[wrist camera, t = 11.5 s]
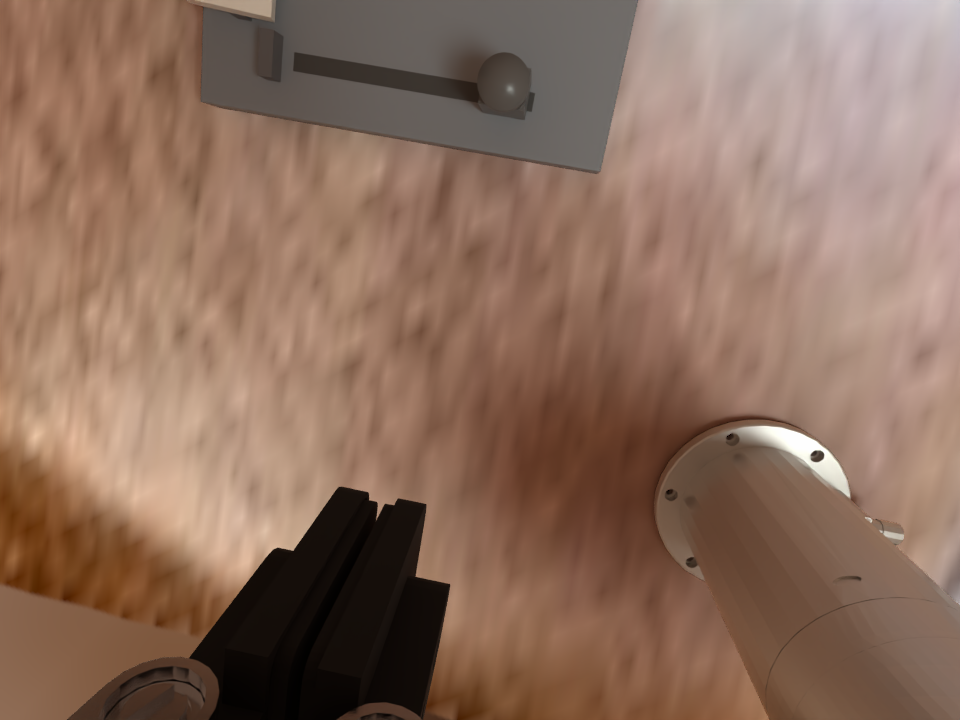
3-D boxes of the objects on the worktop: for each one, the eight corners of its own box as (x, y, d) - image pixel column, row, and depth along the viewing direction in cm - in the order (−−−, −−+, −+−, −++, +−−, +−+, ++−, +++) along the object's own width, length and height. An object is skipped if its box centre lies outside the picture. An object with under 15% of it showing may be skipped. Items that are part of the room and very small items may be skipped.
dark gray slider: (534, 76, 30) (534, 56, 27) (525, 126, 31) (524, 114, 27) (488, 68, 31) (482, 48, 27) (480, 118, 31) (473, 105, 27)
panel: (651, -75, 30) (664, -107, 27) (596, 173, 33) (602, 170, 30) (228, -140, 31) (194, -179, 28) (219, 107, 35) (188, 97, 31)
